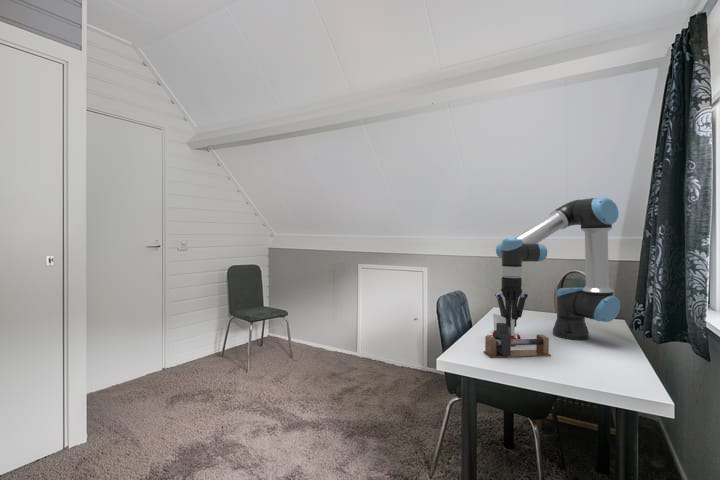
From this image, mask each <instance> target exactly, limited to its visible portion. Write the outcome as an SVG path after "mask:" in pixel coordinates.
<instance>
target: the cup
mask: <svg viewBox="0 0 720 480" xmlns="http://www.w3.org/2000/svg"><path fill="white" fill-rule="evenodd" d="M492 318H493V319H492V320H493V331H494V330H496V323H505V324H506V318H504V317H502V316H501V313H500V310H499V311H498V310H495V311H493V312H492ZM511 318H512V317H511Z"/></svg>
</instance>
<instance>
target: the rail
mask: <svg viewBox="0 0 720 480" xmlns="http://www.w3.org/2000/svg"><path fill="white" fill-rule="evenodd" d="M484 337H485V339H484V340H485V341H484V342H485V343H484V345H485V346H484V347H485V349H484V350H483V354H484V355H485V356H487V357H489V358H490V359H511V358H513V359H514V358H536V357H537V358H540V357H541V358H542V357H545V358H546V357H552V354H550V352H549V350H550V349H549V348H550V345H549V344H550V338H549V337H548V336H546V335H544V334H541V333H540V334H539V333H538V334H536V337H535V338H521V339H517V338H516V339H511V345H516V346H534V345H535V347H536V349H513V350H512V349H511V356H503V355H501V354H500V353H498V352H497V351H496V346H501V340H496V339H495V338H493V336H489V335H488V336H487V335H485V336H484Z"/></svg>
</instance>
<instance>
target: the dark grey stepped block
mask: <svg viewBox="0 0 720 480" xmlns="http://www.w3.org/2000/svg"><path fill="white" fill-rule="evenodd" d="M493 332H494V338H495V339H496V340H501V346H496V351H497V352H498V353H500V354H501V355H503V356H511V350H512V349H511V347H512V346H511V335H509V334H508V325H507V324H505V323H496V330H494V329H493Z"/></svg>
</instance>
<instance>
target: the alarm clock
mask: <svg viewBox="0 0 720 480" xmlns="http://www.w3.org/2000/svg"><path fill="white" fill-rule="evenodd" d="M516 335H517V336H516V337H515V335H514V336H511V339H522V338H521V335H520V334H518V333H517V334H516ZM486 336H492V337H493V338H494V331H493V332H492V334H487V335H486ZM516 346H517V345H511V347H516Z"/></svg>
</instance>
